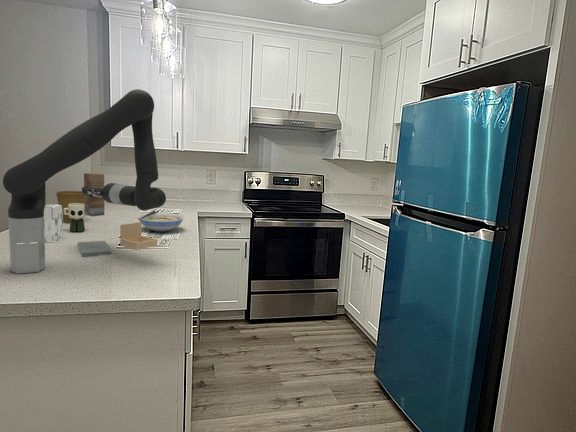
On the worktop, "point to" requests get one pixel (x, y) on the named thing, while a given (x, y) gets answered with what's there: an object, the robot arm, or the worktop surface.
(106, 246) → the blue-grey flat slab
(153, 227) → the ramen bowl
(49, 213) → the beer glass
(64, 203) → the plant pot
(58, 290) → the worktop surface
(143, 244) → the carton
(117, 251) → the worktop surface
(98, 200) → the walnut block
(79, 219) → the character mug
